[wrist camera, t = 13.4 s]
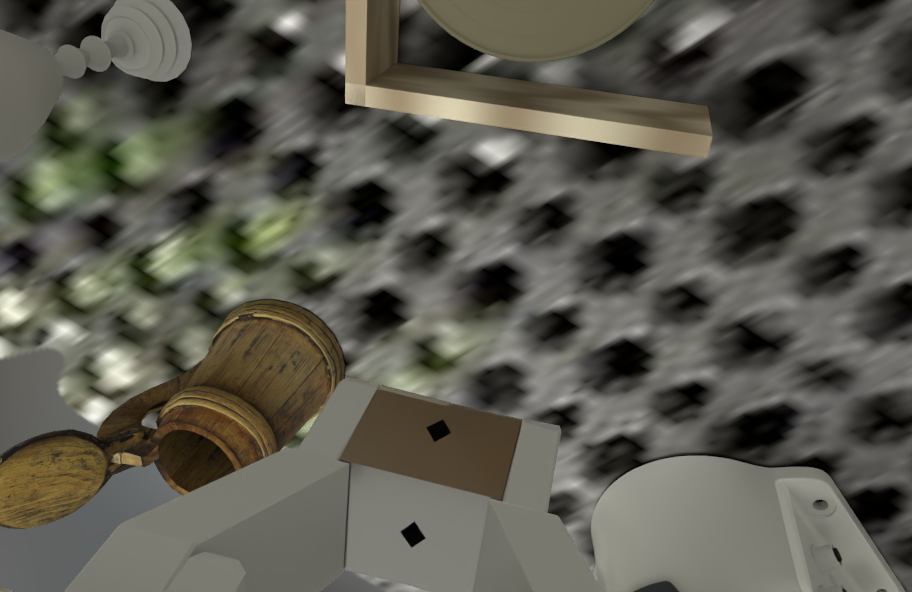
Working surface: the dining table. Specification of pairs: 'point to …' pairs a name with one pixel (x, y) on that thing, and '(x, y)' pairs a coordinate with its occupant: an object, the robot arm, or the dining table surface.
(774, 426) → the dining table surface
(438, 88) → the box
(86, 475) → the wooden mug
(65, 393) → the dining table surface
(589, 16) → the can
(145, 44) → the chalice
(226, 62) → the dining table surface
